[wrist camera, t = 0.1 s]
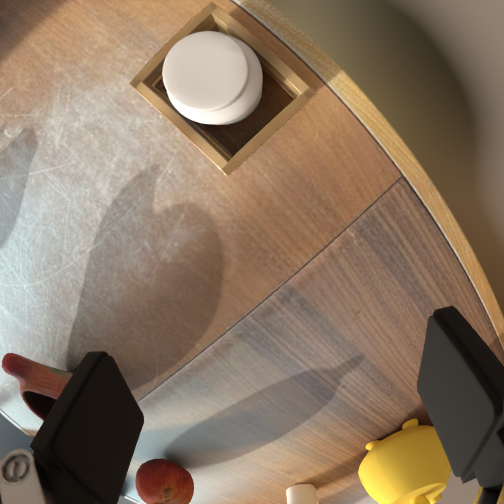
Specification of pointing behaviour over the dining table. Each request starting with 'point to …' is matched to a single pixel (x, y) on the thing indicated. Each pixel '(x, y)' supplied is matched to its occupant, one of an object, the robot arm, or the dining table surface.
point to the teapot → (406, 466)
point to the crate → (151, 90)
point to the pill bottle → (213, 78)
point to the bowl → (36, 382)
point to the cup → (302, 494)
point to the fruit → (164, 483)
